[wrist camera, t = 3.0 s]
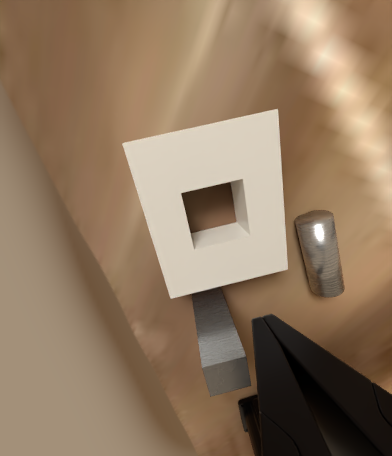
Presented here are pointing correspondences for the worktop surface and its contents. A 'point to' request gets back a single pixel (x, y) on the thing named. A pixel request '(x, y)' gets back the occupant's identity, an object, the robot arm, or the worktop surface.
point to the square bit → (219, 343)
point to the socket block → (209, 176)
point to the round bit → (321, 252)
